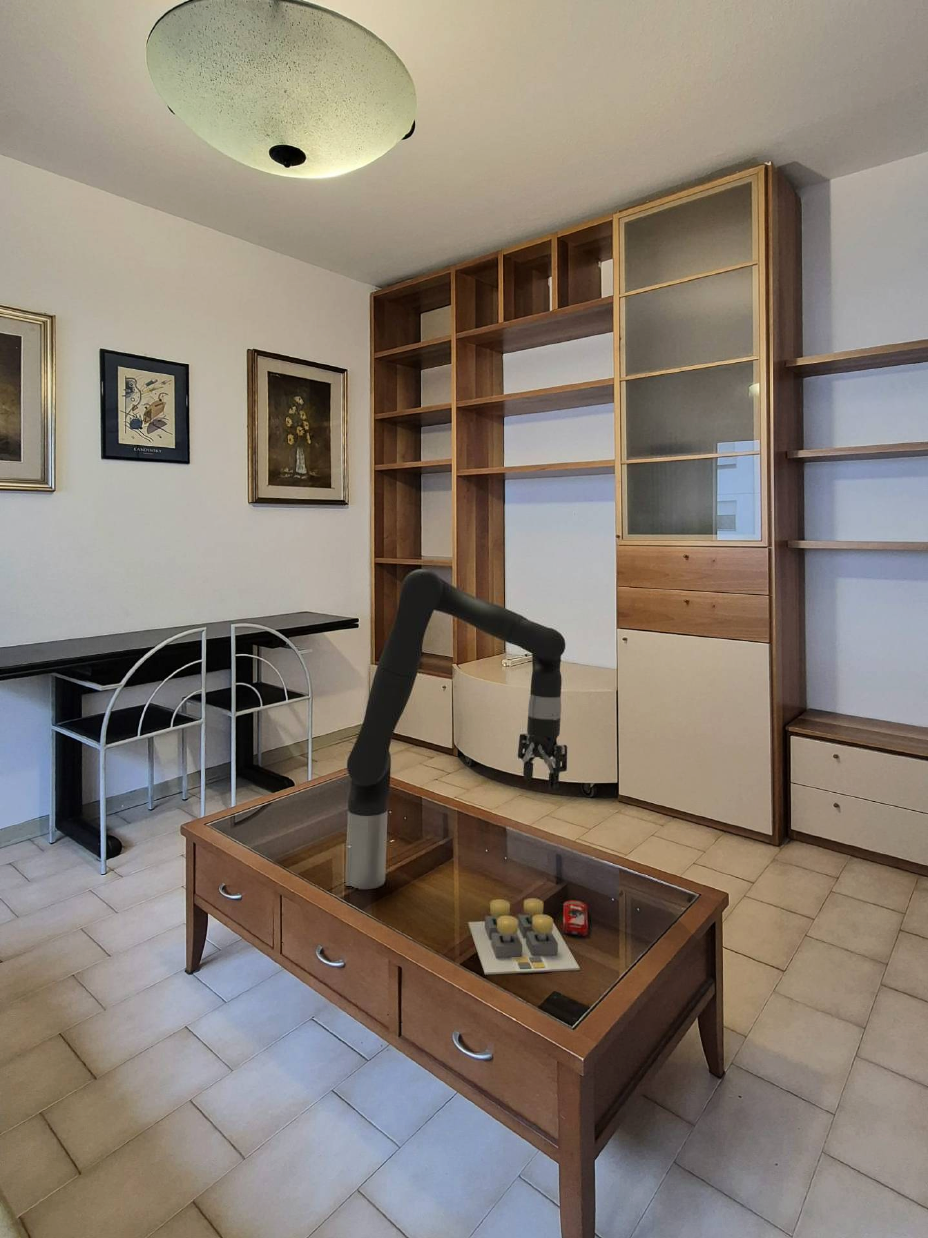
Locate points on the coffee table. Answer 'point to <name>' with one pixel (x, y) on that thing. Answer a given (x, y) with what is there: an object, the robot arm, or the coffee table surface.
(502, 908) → the button back left
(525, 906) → the button back right
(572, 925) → the race car
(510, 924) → the button front left
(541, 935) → the button front right
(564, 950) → the board
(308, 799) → the coffee table surface
